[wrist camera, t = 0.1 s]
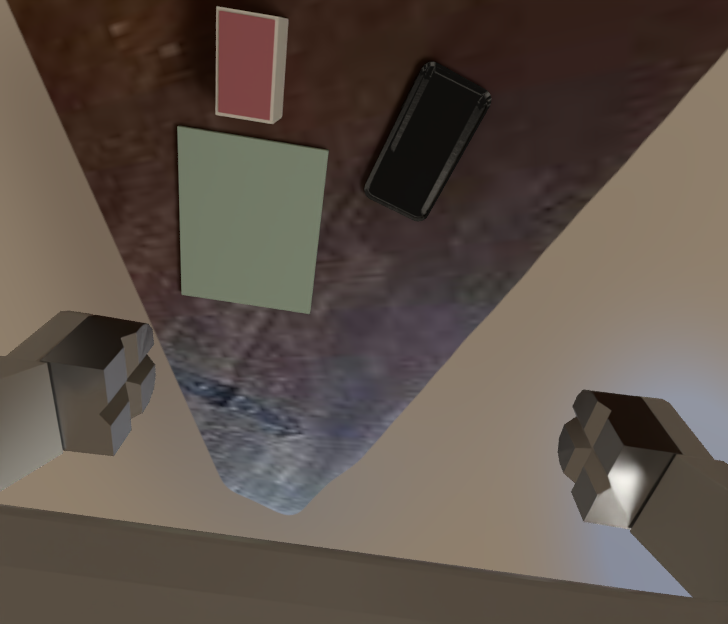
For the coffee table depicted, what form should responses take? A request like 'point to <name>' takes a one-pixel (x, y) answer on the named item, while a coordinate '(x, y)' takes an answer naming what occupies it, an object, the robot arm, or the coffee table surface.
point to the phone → (427, 141)
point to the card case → (250, 65)
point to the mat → (249, 218)
